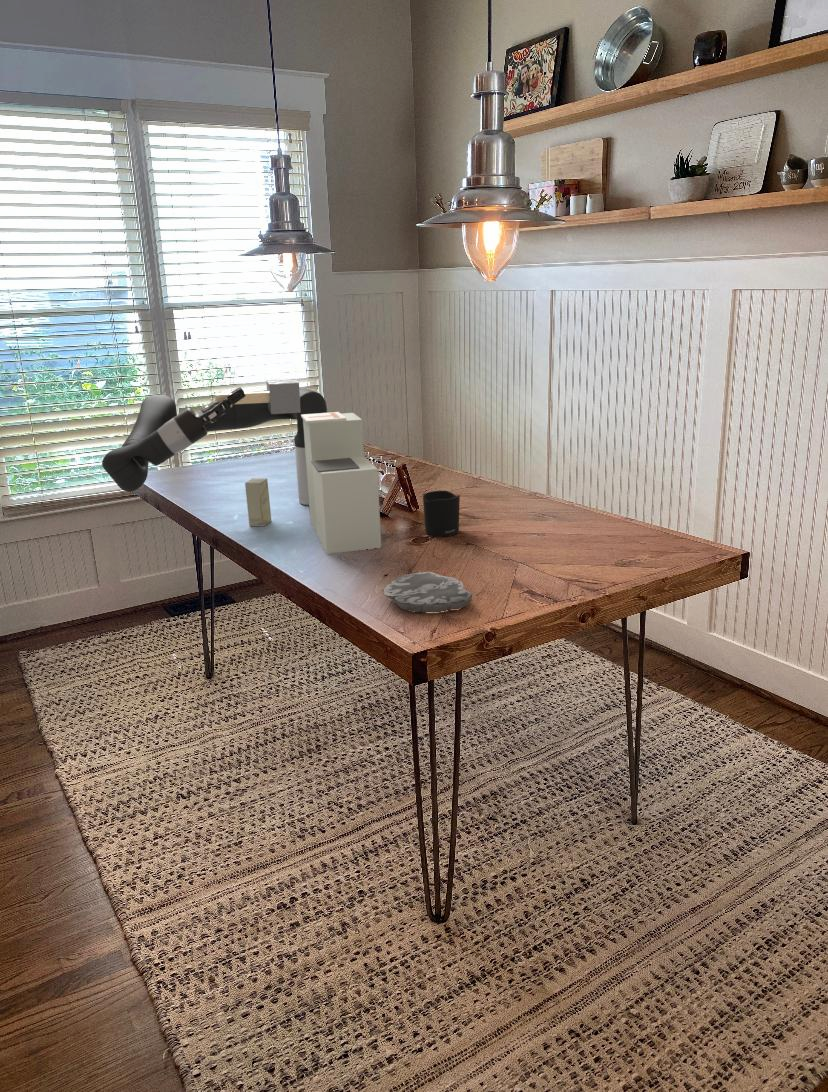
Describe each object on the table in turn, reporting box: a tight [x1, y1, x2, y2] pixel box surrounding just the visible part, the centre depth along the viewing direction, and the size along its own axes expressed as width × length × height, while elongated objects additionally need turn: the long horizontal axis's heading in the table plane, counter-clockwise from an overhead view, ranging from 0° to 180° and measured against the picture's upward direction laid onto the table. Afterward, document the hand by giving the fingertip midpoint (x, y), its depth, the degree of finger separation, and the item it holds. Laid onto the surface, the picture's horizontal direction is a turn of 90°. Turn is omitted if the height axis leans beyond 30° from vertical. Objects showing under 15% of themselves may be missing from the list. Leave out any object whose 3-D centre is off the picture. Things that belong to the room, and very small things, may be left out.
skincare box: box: [244, 477, 272, 527], centre depth 233 cm, size 6×4×12 cm
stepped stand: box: [301, 411, 382, 555], centre depth 217 cm, size 14×28×30 cm, turn 15°
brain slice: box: [382, 571, 473, 613], centre depth 175 cm, size 20×17×3 cm
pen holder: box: [422, 490, 461, 537], centre depth 220 cm, size 9×9×10 cm
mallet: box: [214, 378, 301, 414], centre depth 204 cm, size 20×9×7 cm, turn 104°
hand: (242, 391), depth 203 cm, fingers closed on mallet, 2 cm apart
